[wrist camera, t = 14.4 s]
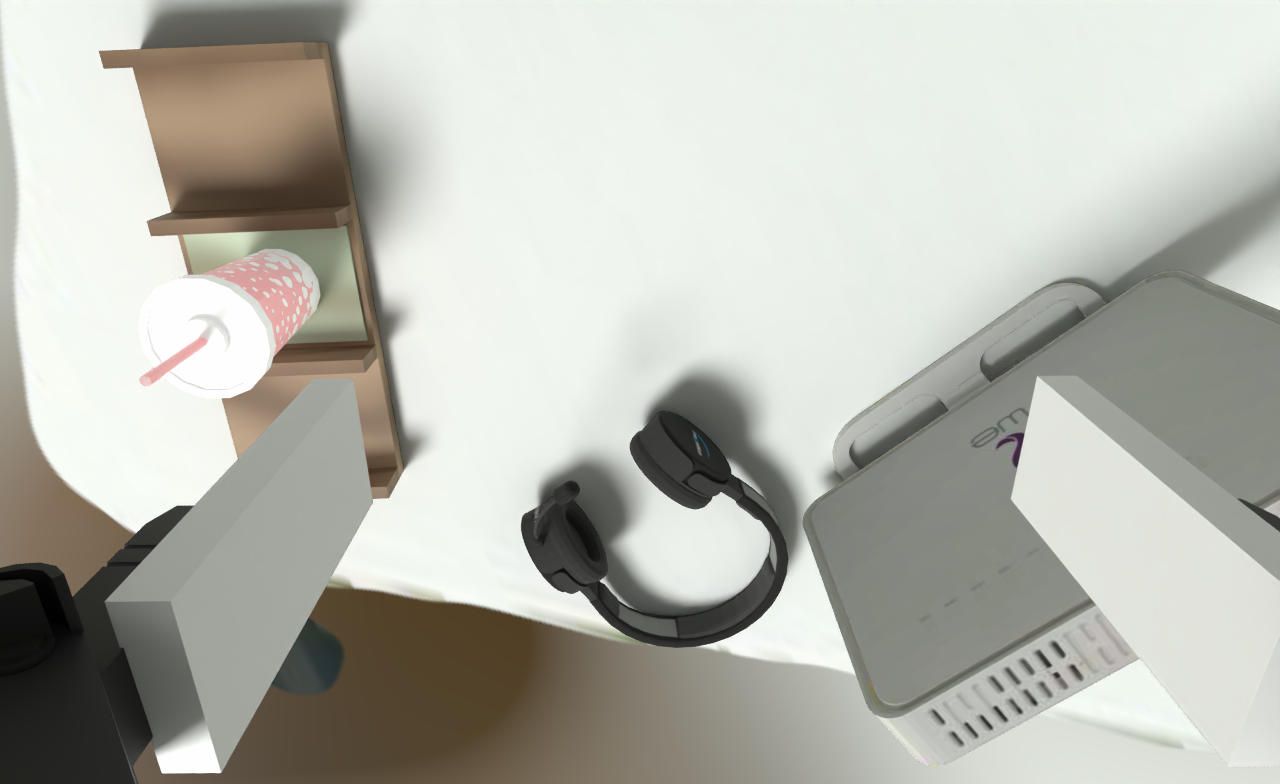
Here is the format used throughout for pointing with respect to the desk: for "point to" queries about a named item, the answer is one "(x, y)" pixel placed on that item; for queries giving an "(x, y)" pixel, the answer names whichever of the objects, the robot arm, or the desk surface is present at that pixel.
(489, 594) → the desk surface
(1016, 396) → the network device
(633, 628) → the headset
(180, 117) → the slot rack
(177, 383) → the beverage cup
